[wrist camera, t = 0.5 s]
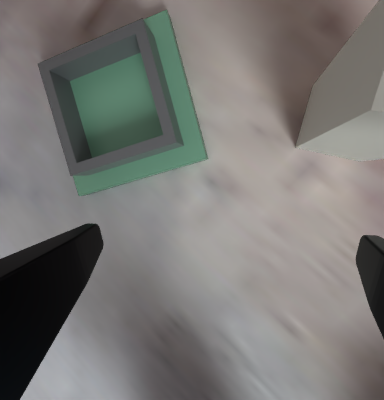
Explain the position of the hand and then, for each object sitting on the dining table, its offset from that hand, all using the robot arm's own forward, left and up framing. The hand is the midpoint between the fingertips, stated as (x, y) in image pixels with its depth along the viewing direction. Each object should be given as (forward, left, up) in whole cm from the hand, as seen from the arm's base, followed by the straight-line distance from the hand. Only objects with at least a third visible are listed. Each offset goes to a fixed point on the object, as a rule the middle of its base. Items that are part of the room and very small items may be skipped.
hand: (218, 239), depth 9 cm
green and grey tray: (+9, +8, -13) cm, 18 cm away
